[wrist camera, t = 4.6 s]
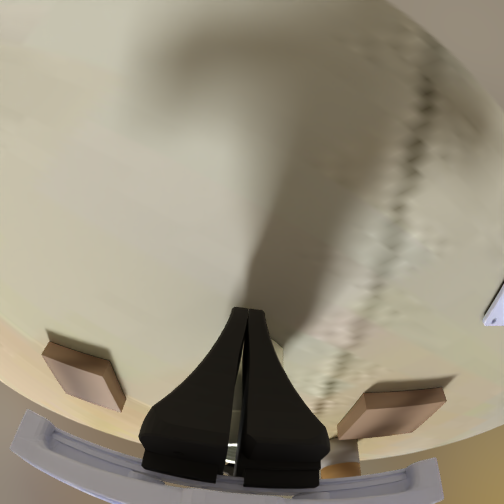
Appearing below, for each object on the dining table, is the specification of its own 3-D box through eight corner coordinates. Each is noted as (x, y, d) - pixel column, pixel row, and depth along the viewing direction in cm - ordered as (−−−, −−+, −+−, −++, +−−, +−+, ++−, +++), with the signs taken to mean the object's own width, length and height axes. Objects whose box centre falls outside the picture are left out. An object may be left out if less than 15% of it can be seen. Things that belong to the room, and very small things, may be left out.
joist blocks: (442, 387, 19) (446, 401, 18) (409, 419, 22) (412, 432, 21) (49, 341, 19) (41, 354, 17) (71, 381, 22) (66, 393, 21)
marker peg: (362, 435, 24) (370, 503, 17) (348, 448, 26) (353, 509, 19) (326, 437, 24) (330, 509, 17) (314, 449, 26) (316, 513, 19)
